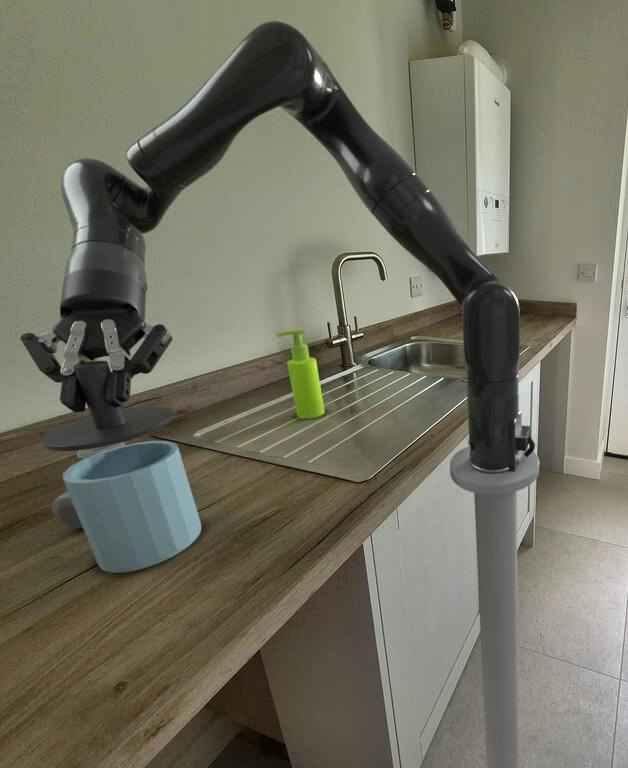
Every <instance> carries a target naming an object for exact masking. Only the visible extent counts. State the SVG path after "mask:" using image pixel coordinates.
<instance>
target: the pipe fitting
mask: <svg viewBox="0 0 628 768" xmlns="http://www.w3.org/2000/svg"><path fill="white" fill-rule="evenodd" d="M125 445H126V444H125V442H121V443H117V444H113V445H109V446H104V447H99V448H93V449H86V450H77V452H76V457H77V460H78V462H79V461H81V460H83V459H85V458H88V457H90V456H93V455H95V454H98V453H100V452H103V451H107V450H110V449H113V448H117V447H120V446H125ZM51 511H52V514H53V515H54V517H55V519H57V521H59V522H60V523H62V524H63V525H65V526H68V527H71V528H76V529H82V530H84V529H83V526H82V524H81V522H80V519H79V517H78V514H77V512H76V509H75V507H74V505H73V502H72V500H71V497H70V495H69V492H68V490H67V487H66V486H65V491H64V492H62V493H61V494H60V495H59V496H58V497H56V498H55V500H54V501H53V503H52V505H51Z"/></svg>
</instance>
